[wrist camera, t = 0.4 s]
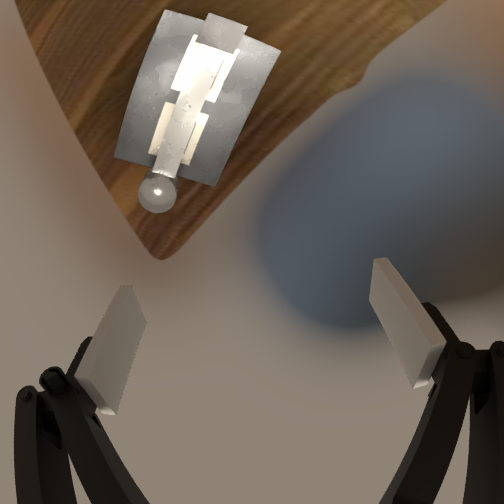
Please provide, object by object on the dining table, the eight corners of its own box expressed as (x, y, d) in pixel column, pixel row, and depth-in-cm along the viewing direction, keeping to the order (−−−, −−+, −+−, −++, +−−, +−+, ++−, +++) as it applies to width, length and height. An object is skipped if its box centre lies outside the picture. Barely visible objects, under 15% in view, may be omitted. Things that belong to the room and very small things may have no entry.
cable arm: (172, 201, 33) (169, 217, 31) (139, 192, 32) (134, 207, 29) (246, 28, 22) (251, 27, 20) (207, 14, 21) (206, 11, 18)
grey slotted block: (170, 13, 24) (161, 7, 20) (274, 49, 29) (286, 51, 24) (119, 156, 35) (104, 177, 30) (210, 183, 40) (210, 208, 35)
